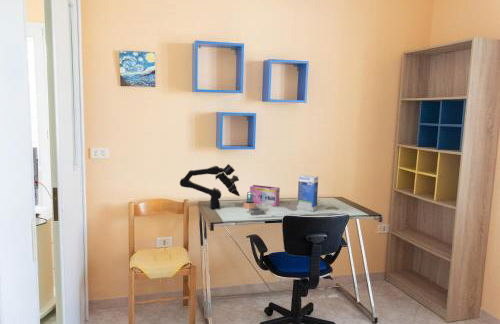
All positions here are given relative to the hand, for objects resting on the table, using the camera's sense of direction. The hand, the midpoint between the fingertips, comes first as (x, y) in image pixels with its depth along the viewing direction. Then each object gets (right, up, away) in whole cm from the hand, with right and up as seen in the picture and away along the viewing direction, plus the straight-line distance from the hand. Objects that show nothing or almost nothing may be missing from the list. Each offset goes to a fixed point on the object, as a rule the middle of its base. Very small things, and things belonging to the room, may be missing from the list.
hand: (238, 194), depth 295 cm
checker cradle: (+13, -13, -13) cm, 23 cm away
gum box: (+20, -9, +20) cm, 29 cm away
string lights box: (+52, -12, +5) cm, 53 cm away
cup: (+8, -11, +2) cm, 13 cm away
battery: (+8, -10, +2) cm, 13 cm away
